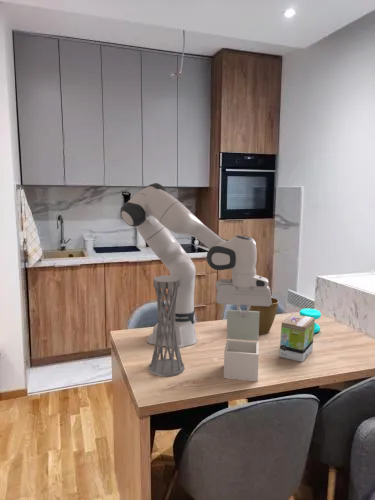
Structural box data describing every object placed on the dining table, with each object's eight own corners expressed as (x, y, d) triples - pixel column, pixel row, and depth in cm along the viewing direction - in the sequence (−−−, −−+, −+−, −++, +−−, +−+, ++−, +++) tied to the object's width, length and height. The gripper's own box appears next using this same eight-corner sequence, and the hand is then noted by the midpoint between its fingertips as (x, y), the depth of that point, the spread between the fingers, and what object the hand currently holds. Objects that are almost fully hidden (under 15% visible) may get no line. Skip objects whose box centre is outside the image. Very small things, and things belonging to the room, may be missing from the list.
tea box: (303, 362, 151) (305, 326, 149) (278, 357, 156) (280, 322, 154) (313, 350, 163) (315, 316, 161) (290, 345, 169) (291, 312, 167)
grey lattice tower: (149, 361, 151) (148, 274, 146) (183, 360, 152) (183, 274, 147) (148, 377, 138) (147, 282, 133) (185, 376, 139) (186, 282, 134)
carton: (223, 378, 137) (224, 351, 136) (226, 364, 149) (226, 339, 148) (257, 381, 135) (258, 354, 134) (257, 366, 147) (258, 341, 146)
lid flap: (227, 310, 144) (227, 309, 144) (226, 338, 147) (227, 337, 148) (259, 312, 142) (259, 311, 142) (258, 340, 145) (258, 340, 146)
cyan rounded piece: (323, 309, 188) (318, 315, 179) (322, 329, 189) (317, 335, 181) (302, 306, 193) (297, 311, 184) (301, 325, 194) (296, 331, 186)
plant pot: (259, 339, 176) (260, 305, 173) (240, 329, 188) (240, 297, 186) (284, 333, 183) (285, 301, 181) (263, 324, 196) (264, 294, 193)
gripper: (214, 280, 139) (214, 317, 141) (272, 282, 135) (271, 320, 137) (216, 277, 145) (216, 312, 147) (271, 279, 142) (270, 315, 143)
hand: (243, 316), depth 142 cm, fingers closed, pressing on lid flap
